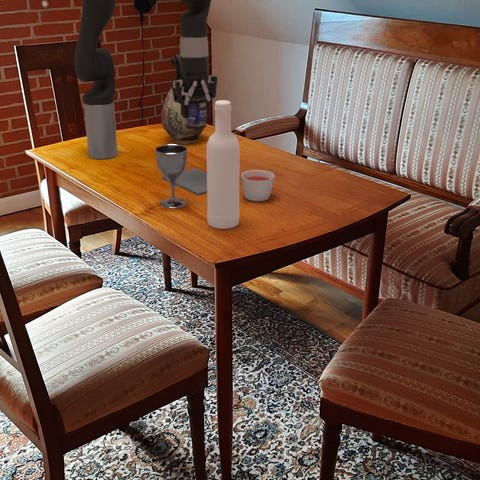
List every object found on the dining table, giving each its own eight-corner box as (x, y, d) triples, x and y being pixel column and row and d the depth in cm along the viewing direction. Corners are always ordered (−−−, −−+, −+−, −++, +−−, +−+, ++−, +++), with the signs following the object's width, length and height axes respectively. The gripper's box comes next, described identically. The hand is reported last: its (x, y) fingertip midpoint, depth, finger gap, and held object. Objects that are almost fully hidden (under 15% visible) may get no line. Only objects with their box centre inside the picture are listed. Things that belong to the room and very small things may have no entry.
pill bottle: (203, 130, 171) (202, 90, 167) (182, 129, 173) (181, 89, 168) (209, 124, 177) (208, 85, 172) (188, 123, 178) (187, 84, 173)
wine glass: (176, 211, 160) (174, 155, 154) (152, 204, 164) (149, 149, 158) (194, 201, 166) (193, 147, 160) (170, 195, 170) (168, 142, 164)
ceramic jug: (159, 135, 223) (155, 49, 210) (201, 133, 227) (200, 48, 214) (165, 149, 208) (161, 57, 195) (211, 146, 212) (210, 56, 199)
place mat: (161, 177, 183) (161, 175, 183) (195, 169, 190) (195, 167, 190) (197, 195, 171) (197, 193, 170) (232, 185, 177) (232, 183, 177)
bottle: (237, 216, 158) (238, 97, 145) (241, 228, 151) (242, 105, 138) (206, 217, 157) (204, 98, 144) (208, 230, 150) (206, 106, 137)
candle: (234, 195, 171) (234, 174, 168) (259, 189, 176) (260, 167, 173) (254, 205, 164) (255, 183, 161) (280, 198, 169) (281, 176, 166)
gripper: (207, 49, 173) (208, 109, 180) (163, 54, 165) (166, 117, 172) (224, 53, 168) (224, 114, 175) (179, 58, 159) (181, 122, 167)
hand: (195, 115), depth 173 cm, fingers closed on pill bottle, 6 cm apart
